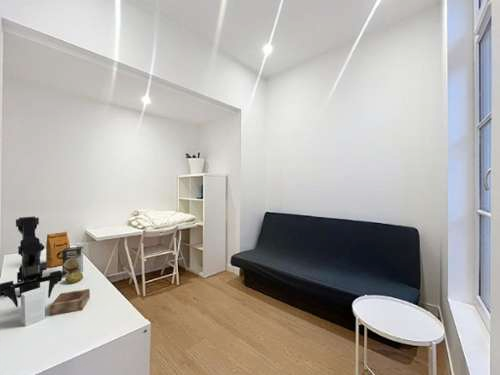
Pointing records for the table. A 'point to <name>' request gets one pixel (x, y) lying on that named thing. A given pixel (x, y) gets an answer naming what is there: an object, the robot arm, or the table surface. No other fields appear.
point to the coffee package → (56, 248)
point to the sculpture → (72, 279)
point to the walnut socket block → (70, 302)
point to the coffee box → (72, 261)
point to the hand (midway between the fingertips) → (33, 301)
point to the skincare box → (32, 306)
